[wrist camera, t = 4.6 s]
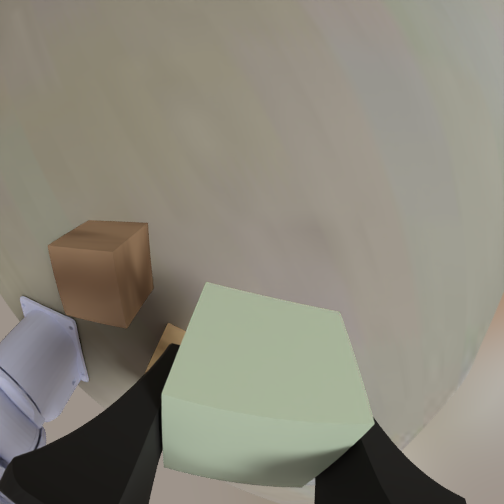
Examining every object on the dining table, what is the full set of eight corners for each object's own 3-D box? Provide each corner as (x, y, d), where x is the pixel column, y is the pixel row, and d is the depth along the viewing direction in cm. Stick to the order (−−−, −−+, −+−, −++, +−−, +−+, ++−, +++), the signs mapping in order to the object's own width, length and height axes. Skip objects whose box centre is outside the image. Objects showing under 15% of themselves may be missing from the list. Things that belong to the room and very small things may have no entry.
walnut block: (154, 287, 20) (127, 328, 15) (98, 280, 20) (65, 314, 15) (148, 222, 18) (112, 252, 13) (89, 220, 18) (47, 245, 13)
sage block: (296, 393, 12) (301, 487, 7) (191, 373, 12) (163, 466, 7) (339, 311, 10) (374, 424, 5) (206, 281, 10) (161, 394, 5)
